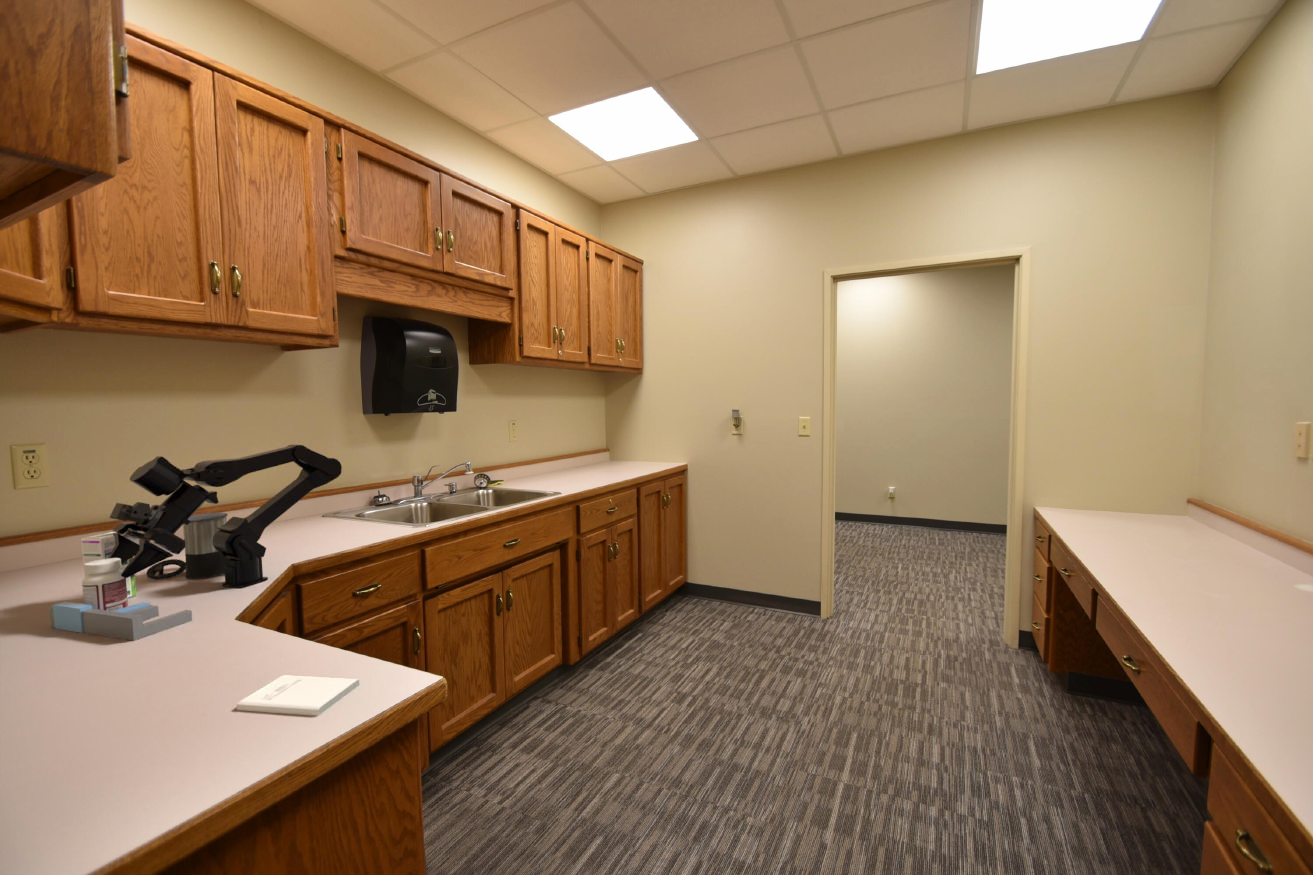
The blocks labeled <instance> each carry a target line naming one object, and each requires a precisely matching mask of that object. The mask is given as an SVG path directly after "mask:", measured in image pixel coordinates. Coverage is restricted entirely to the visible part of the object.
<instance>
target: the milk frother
mask: <svg viewBox="0 0 1313 875" xmlns="http://www.w3.org/2000/svg"><path fill="white" fill-rule="evenodd" d="M228 516H229V514H228V513H227V512H210V513H200V514H195V515H194V514H193V515H192V516H191V517H190V518H189V519H188V520H190V521H191V522H190V523H189V524H188V525H182V528H183V529H182V530H183V540H185V545H186V547H185V548H184V554H185V555H184V556H185V561H184V560H182V559H177V558H176V559H175V558H174V559H173V558H172V559H164V560H162V561H160V562H158V563H156V564H154V565H152V566H150V567H148V569H147V570H146V574H145V575H146V577H147V578H149V579H152V580H153V579H154V580H164V579H165V580H166V579H170V578H173V577H176V576H179V575H180V574H182V573H183V572H184V571H185V575H184V578H185V579H187V580H202V579H203V580H204V579H210V578H215V577H219V576H223V575H225V572H224V568H225V567H226V560H228V559H229V558H227V557H226V558H225V557H223V555H222V553H221V551H218V550H216V549H215V548H214V546H213V543H212V541H213V536H214V534H215V533H216V532H217V531H218V530H219V529H217V528H218V527H221V526H222V525H224V524H225V523H226V522H227V521H228V518H227V517H228ZM171 565H173V566H178V567H179V568H178V569H176V570H173V571H172V572H169V573H164V569H165V567H166V566H171Z"/></svg>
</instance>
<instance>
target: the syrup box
mask: <svg viewBox="0 0 1313 875" xmlns="http://www.w3.org/2000/svg"><path fill="white" fill-rule="evenodd" d="M113 533H116V532H114V531H110V532H107V533H101V534H95V535H92V536H86V537H82V538H80V540H81V541H80V543H81V552H82V563H83V565H84V564H85V563H87V562H91V561H95V560H100V559H107V558H108V557H109V555H110V554H111V552H112V550H113V548H114V546H115V544H116V542H115V537H114V536H113ZM117 534H118V533H117ZM133 558H134V557H132V558H130V559H129V560H127V561H125V562H124V563H122V564H121V566H122V567H121V568H120V569H119V570H121V571H124V569H125V568H126V567H127V565H128V564H129V563H130V562H131V560H132V559H133ZM88 575H89V574H85V573H84V578H85V577H86V576H88ZM136 584H137V583H136V575H135V574H134V575H132V576H130V577H128V578H126V586H127V598H128V599H129V598H132V597H136V595H137V586H136Z"/></svg>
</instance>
